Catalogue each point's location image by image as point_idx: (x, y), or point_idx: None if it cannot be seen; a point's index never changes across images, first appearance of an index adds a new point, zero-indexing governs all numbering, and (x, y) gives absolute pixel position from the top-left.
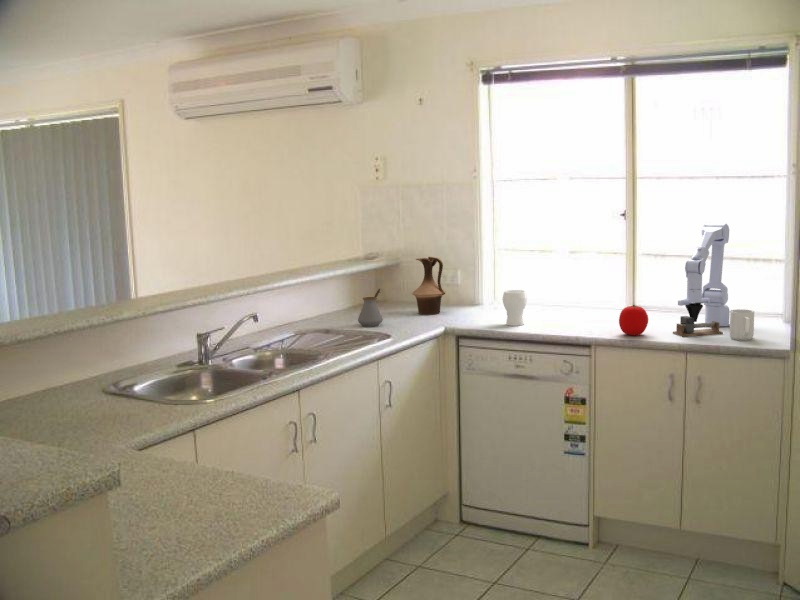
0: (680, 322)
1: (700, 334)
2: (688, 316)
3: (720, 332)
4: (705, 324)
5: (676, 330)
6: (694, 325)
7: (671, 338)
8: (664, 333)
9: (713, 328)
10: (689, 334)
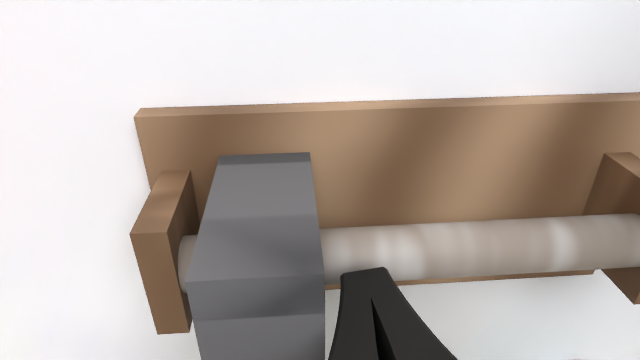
0: (203, 215)
1: None
2: (318, 315)
3: (567, 274)
4: (503, 274)
5: (156, 182)
6: None
7: (52, 307)
8: (35, 73)
9: (605, 197)
10: None
